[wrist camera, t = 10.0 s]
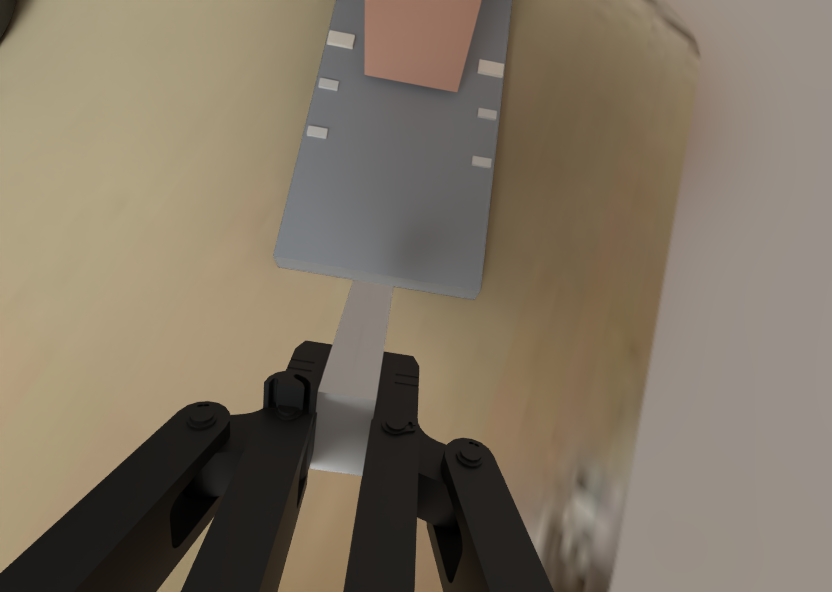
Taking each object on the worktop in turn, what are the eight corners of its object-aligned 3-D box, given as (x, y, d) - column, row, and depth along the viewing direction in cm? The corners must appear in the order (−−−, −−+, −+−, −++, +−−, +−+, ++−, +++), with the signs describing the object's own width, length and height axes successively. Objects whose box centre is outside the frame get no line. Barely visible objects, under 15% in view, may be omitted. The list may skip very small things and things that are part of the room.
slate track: (474, 299, 26) (516, 242, 18) (278, 267, 25) (243, 195, 18) (509, -19, 32) (551, -153, 25) (354, -50, 31) (351, -196, 24)
